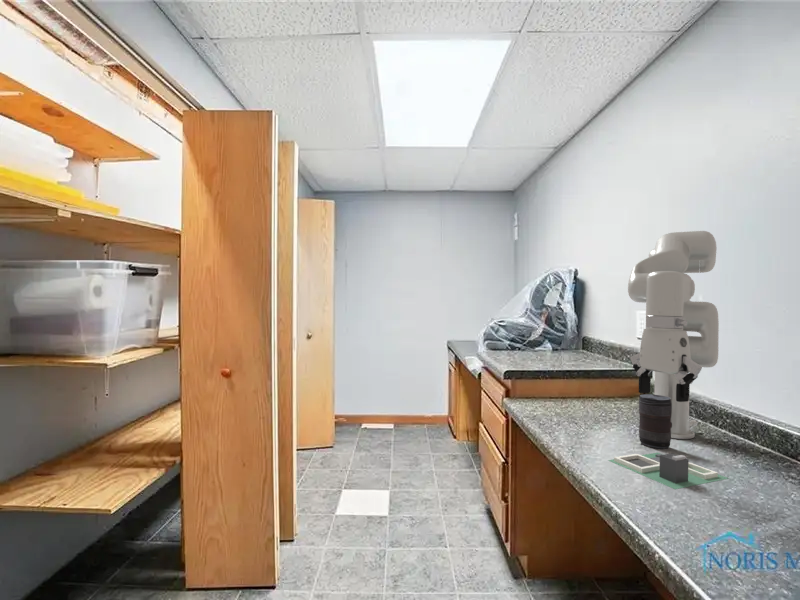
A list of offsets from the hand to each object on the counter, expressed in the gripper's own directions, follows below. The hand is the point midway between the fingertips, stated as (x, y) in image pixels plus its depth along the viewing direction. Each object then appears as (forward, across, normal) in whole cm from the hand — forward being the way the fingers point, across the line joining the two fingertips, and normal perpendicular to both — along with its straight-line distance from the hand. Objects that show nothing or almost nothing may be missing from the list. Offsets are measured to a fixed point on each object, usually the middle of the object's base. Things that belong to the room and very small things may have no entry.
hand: (662, 396), depth 102 cm
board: (+20, +3, -5) cm, 20 cm away
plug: (+18, -2, -1) cm, 19 cm away
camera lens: (+20, +17, -19) cm, 32 cm away
